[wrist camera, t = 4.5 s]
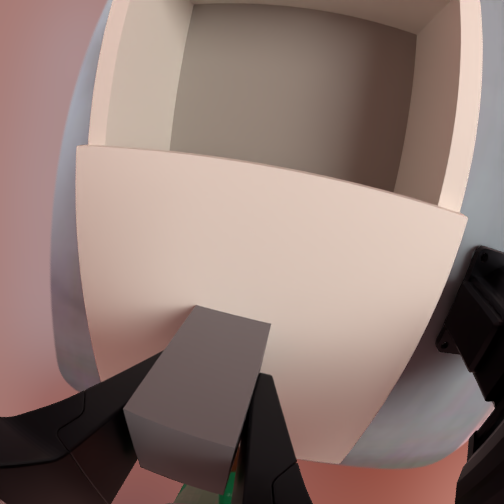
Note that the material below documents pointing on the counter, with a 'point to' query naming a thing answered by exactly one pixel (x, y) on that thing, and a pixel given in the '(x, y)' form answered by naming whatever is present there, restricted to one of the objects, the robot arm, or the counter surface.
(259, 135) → the carton
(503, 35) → the counter surface
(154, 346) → the lid
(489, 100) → the counter surface
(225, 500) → the food container
